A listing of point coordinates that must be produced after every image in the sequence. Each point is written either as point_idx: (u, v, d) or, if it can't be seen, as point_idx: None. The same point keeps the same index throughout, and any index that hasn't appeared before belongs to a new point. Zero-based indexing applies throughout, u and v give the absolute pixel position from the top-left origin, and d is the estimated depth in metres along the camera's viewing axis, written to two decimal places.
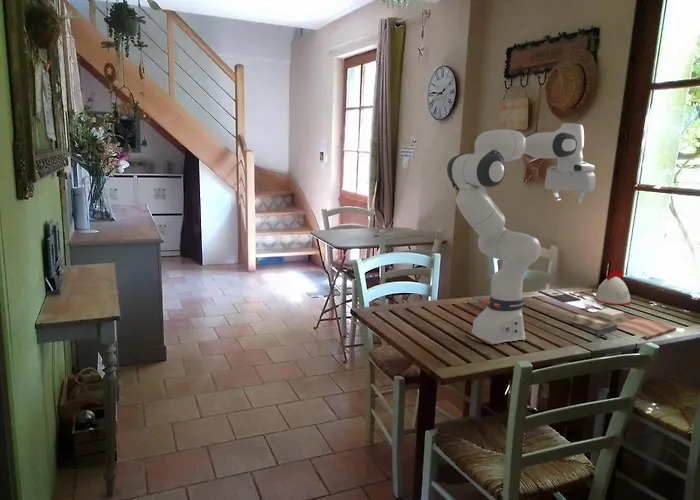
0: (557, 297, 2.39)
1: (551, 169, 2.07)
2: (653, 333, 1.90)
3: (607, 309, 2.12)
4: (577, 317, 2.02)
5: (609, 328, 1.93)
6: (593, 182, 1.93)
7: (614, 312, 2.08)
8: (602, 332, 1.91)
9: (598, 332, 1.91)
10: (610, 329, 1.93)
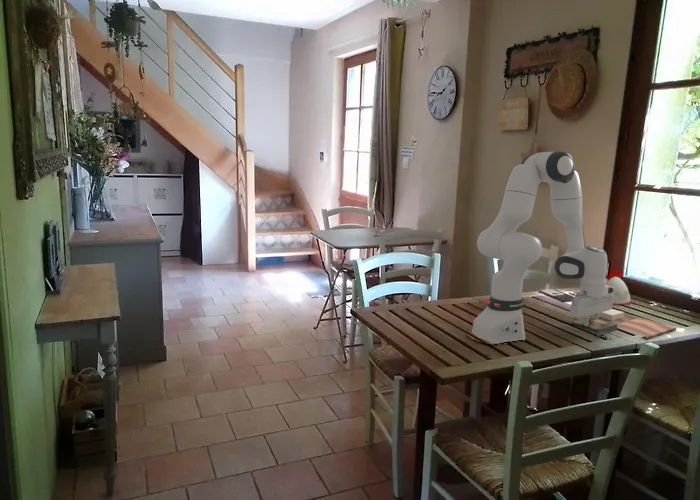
0: (557, 297, 2.39)
1: (579, 296, 1.93)
2: (653, 333, 1.90)
3: None
4: None
5: (609, 328, 1.93)
6: None
7: (614, 312, 2.08)
8: (602, 332, 1.91)
9: (598, 332, 1.91)
10: (610, 329, 1.93)
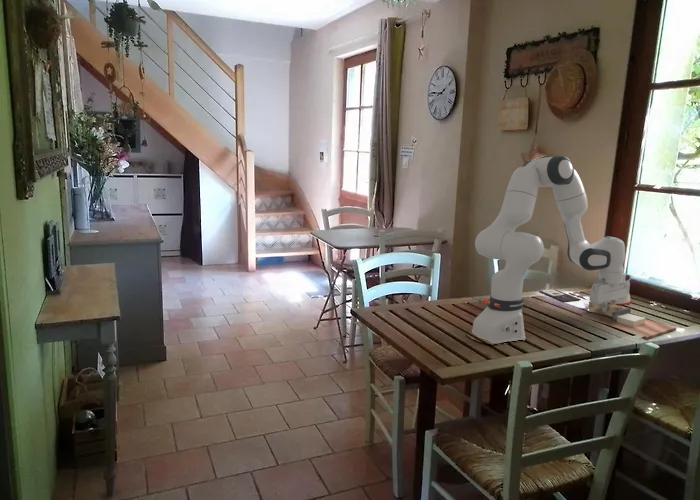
0: (557, 297, 2.39)
1: (598, 283, 2.03)
2: (653, 333, 1.90)
3: (627, 315, 2.04)
4: (592, 303, 2.14)
5: (623, 311, 2.05)
6: None
7: (635, 317, 2.01)
8: (617, 315, 2.03)
9: (614, 315, 2.02)
10: (624, 312, 2.05)
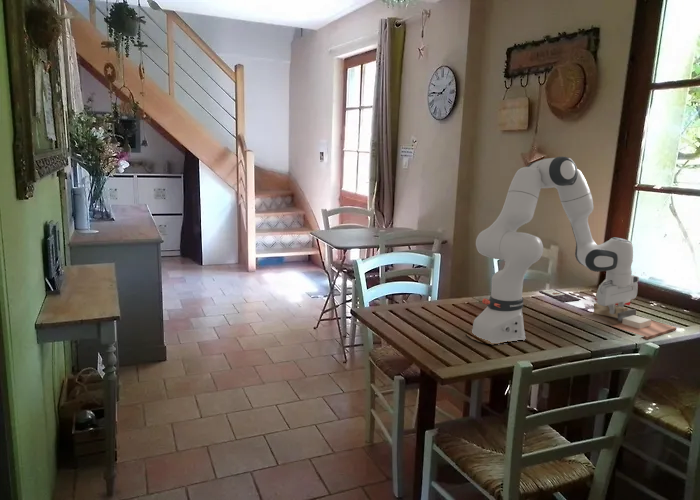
0: (557, 297, 2.39)
1: (605, 285, 2.00)
2: (653, 333, 1.90)
3: (633, 316, 2.02)
4: (597, 305, 2.12)
5: (629, 312, 2.03)
6: None
7: (641, 319, 1.99)
8: (622, 316, 2.01)
9: (619, 316, 2.00)
10: (630, 313, 2.03)
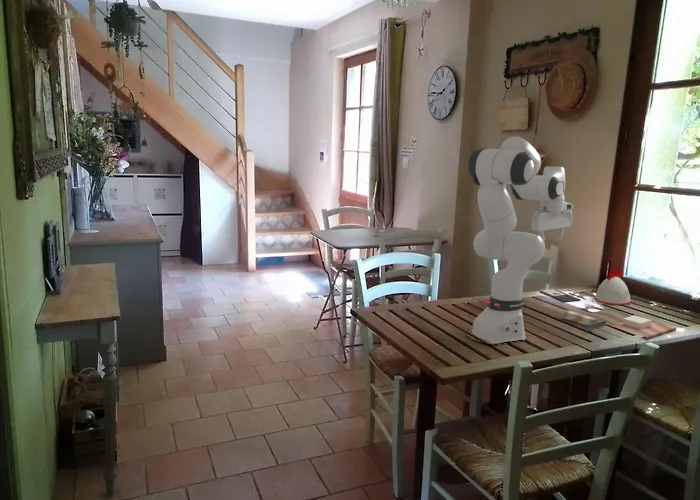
0: (557, 297, 2.39)
1: (539, 211, 2.07)
2: (653, 333, 1.90)
3: (634, 317, 2.02)
4: (567, 313, 2.08)
5: (598, 324, 1.98)
6: None
7: (641, 319, 1.98)
8: (591, 327, 1.96)
9: (587, 328, 1.96)
10: (599, 325, 1.98)
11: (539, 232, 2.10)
